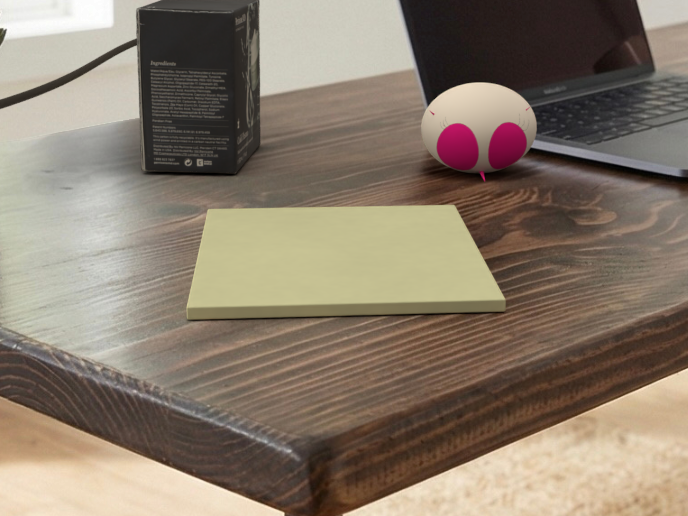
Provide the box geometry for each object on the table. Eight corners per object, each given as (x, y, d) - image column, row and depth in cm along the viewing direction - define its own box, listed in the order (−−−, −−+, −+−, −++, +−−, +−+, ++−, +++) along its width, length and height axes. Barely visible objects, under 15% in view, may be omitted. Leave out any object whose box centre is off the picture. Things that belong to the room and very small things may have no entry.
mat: (208, 219, 73) (207, 208, 73) (454, 214, 75) (454, 204, 74) (186, 320, 56) (186, 307, 56) (505, 312, 58) (506, 299, 58)
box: (240, 176, 84) (234, 9, 80) (139, 174, 84) (128, 8, 80) (265, 144, 94) (260, -5, 90) (175, 143, 94) (166, -6, 90)
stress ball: (425, 226, 85) (424, 155, 80) (419, 138, 90) (418, 65, 84) (540, 221, 85) (547, 150, 80) (528, 134, 90) (534, 61, 84)
